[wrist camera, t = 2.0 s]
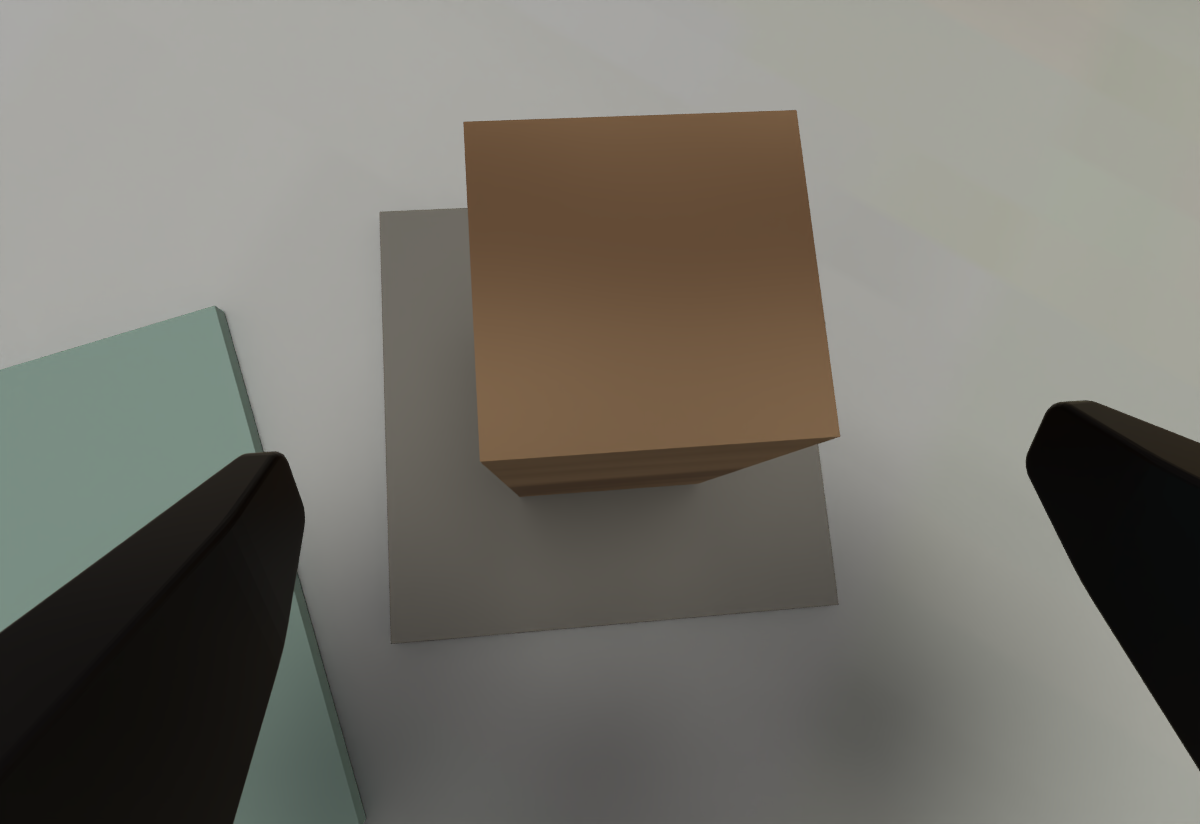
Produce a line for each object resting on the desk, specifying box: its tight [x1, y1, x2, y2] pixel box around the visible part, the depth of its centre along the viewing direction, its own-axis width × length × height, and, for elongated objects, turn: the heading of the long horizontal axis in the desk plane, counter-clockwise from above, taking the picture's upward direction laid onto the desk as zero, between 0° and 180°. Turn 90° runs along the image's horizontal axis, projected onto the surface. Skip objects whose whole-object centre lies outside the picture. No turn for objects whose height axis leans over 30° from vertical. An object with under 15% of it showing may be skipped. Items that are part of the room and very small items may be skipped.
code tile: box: [380, 208, 839, 644], centre depth 18 cm, size 11×11×1 cm
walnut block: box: [464, 110, 840, 497], centre depth 13 cm, size 4×4×9 cm
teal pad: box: [0, 306, 366, 824], centre depth 16 cm, size 13×13×1 cm
